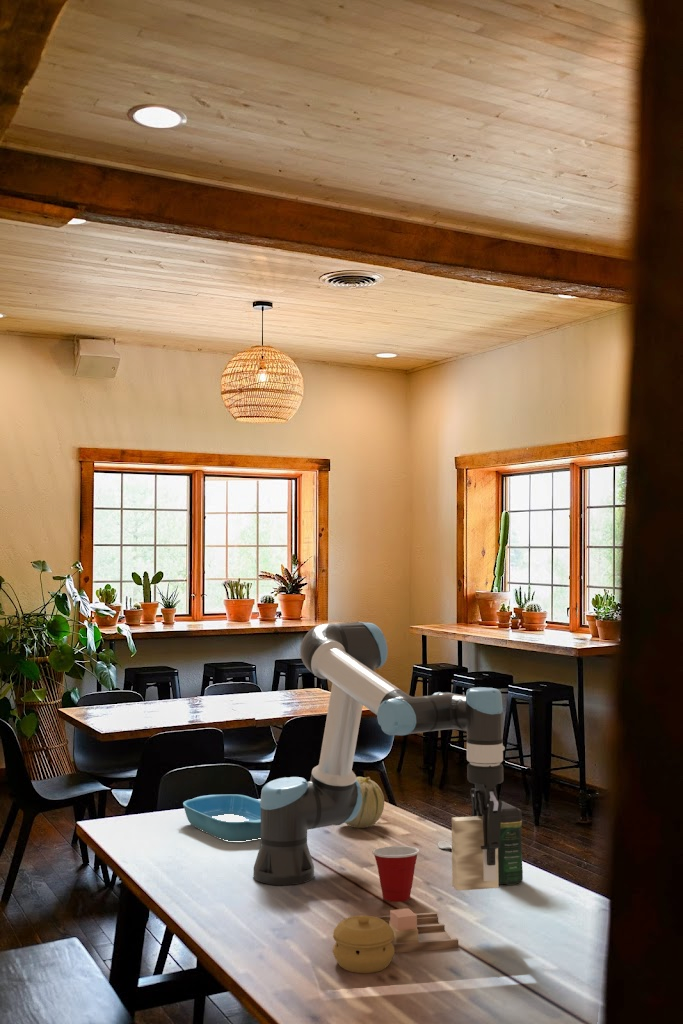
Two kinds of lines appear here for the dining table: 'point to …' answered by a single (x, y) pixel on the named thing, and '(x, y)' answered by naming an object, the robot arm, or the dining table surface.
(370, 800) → the cantaloupe
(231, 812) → the casserole dish
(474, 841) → the birch block
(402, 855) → the plastic cup
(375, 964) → the pot
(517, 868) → the coffee jar
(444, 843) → the spoon
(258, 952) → the dining table surface
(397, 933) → the offcut oak
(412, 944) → the rack
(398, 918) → the offcut terracotta
